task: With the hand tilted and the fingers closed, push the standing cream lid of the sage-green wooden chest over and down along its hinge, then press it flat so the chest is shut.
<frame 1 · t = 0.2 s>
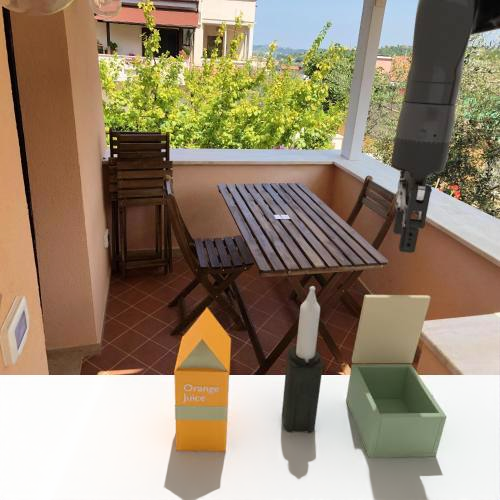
hand: (402, 242, 67), 30 cm above the table, tool pointing down, fingers open, 8 cm apart
lid: (389, 330, 71), point 15 cm above the table, hinge at 85.0°
orange juice: (203, 430, 69), on the table
candle: (297, 422, 71), on the table
chest: (387, 426, 71), on the table
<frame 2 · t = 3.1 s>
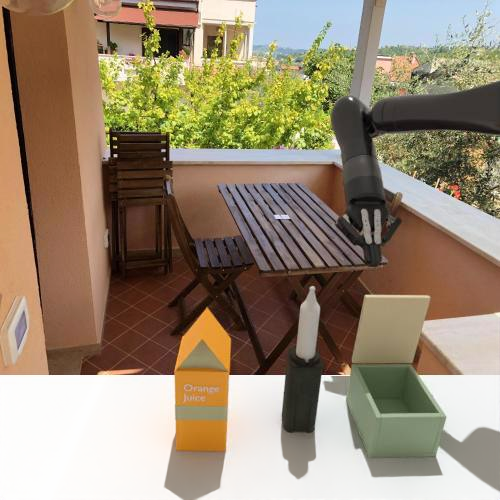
hand: (374, 265, 78), 22 cm above the table, tool tilted 45°, fingers closed
nothing on the table moved.
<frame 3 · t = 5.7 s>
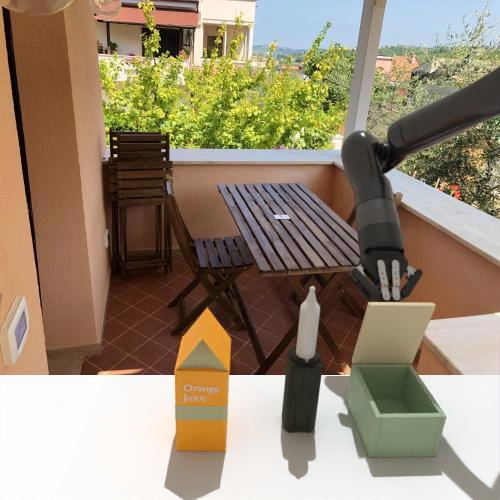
hand: (392, 324, 70), 16 cm above the table, tool tilted 45°, fingers closed
lid: (391, 334, 70), point 15 cm above the table, hinge at 76.6°, touching gripper
everything else where it was.
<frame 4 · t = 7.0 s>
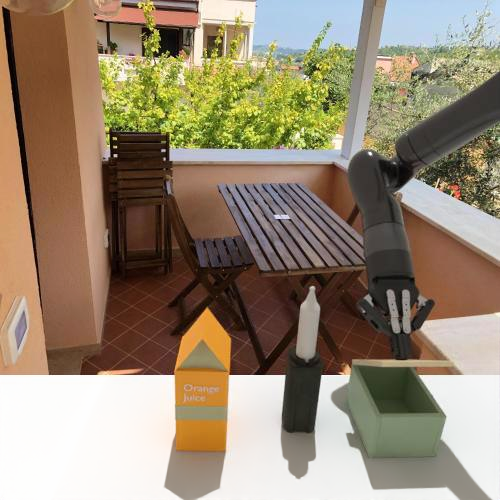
hand: (403, 359, 66), 14 cm above the table, tool tilted 45°, fingers closed
lid: (398, 362, 67), point 12 cm above the table, hinge at 34.9°, touching gripper
everything else where it was.
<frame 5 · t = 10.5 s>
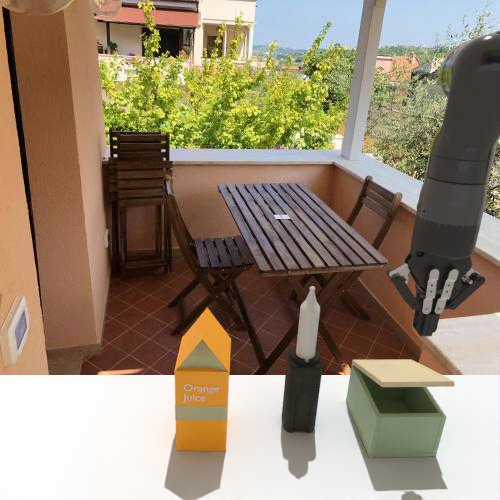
hand: (423, 333, 60), 21 cm above the table, tool pointing down, fingers closed
lid: (398, 371, 67), point 11 cm above the table, hinge at 22.9°
everything else where it was.
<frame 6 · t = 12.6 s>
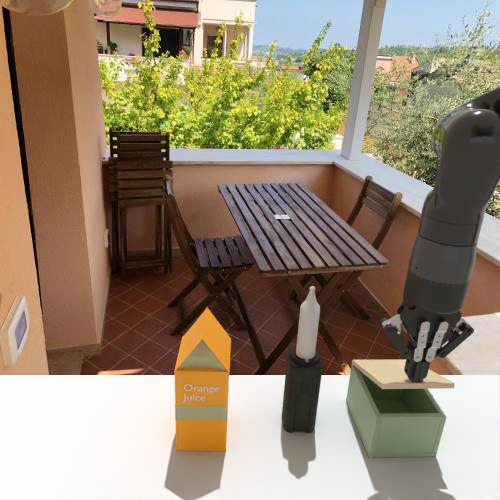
hand: (414, 378, 62), 13 cm above the table, tool pointing down, fingers closed
lid: (398, 372, 67), point 11 cm above the table, hinge at 21.8°, touching gripper
everything else where it was.
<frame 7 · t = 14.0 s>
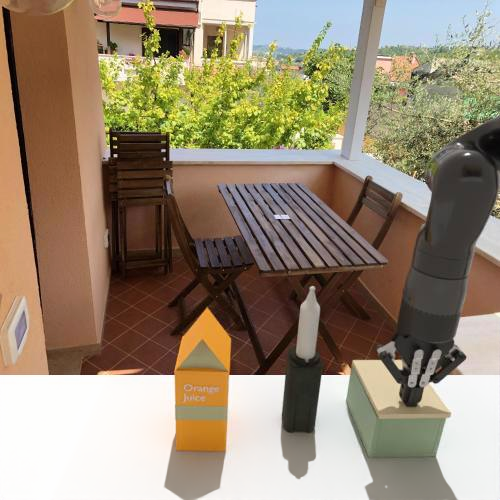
hand: (408, 402, 63), 9 cm above the table, tool pointing down, fingers closed
lid: (397, 386, 67), point 8 cm above the table, hinge at 1.8°, touching gripper
everything else where it was.
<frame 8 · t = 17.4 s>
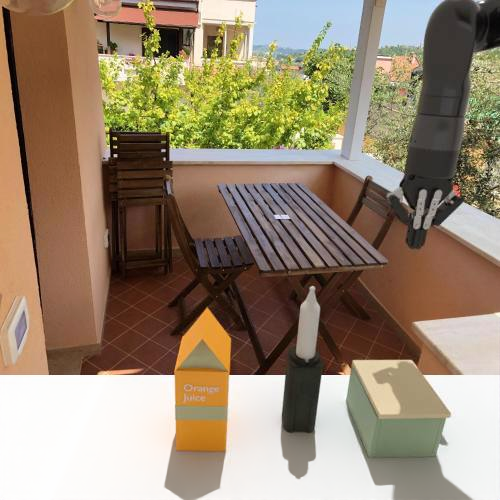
hand: (413, 247, 73), 27 cm above the table, tool pointing down, fingers closed
lid: (397, 386, 67), point 8 cm above the table, hinge at 1.8°
everything else where it was.
at the end: lid at +2° (first picture: +85°); candle moved 0.2 cm from its start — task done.
